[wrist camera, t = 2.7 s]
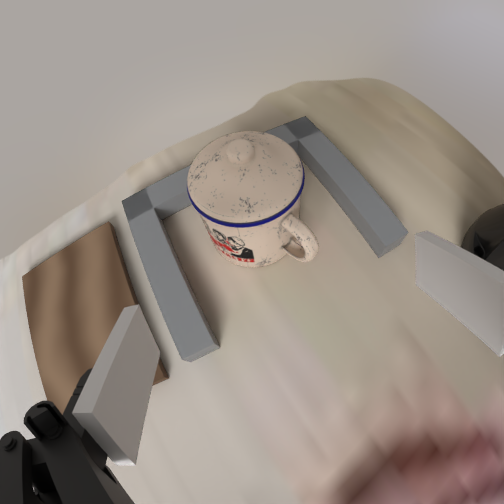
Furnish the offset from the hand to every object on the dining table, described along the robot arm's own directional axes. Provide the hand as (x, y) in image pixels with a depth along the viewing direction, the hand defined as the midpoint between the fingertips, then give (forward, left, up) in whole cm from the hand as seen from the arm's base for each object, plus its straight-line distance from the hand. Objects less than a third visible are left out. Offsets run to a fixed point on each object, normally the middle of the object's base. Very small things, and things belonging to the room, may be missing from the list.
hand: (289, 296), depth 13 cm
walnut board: (+18, -11, -14) cm, 25 cm away
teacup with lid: (-3, -10, -14) cm, 18 cm away
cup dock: (-3, -11, -14) cm, 18 cm away
